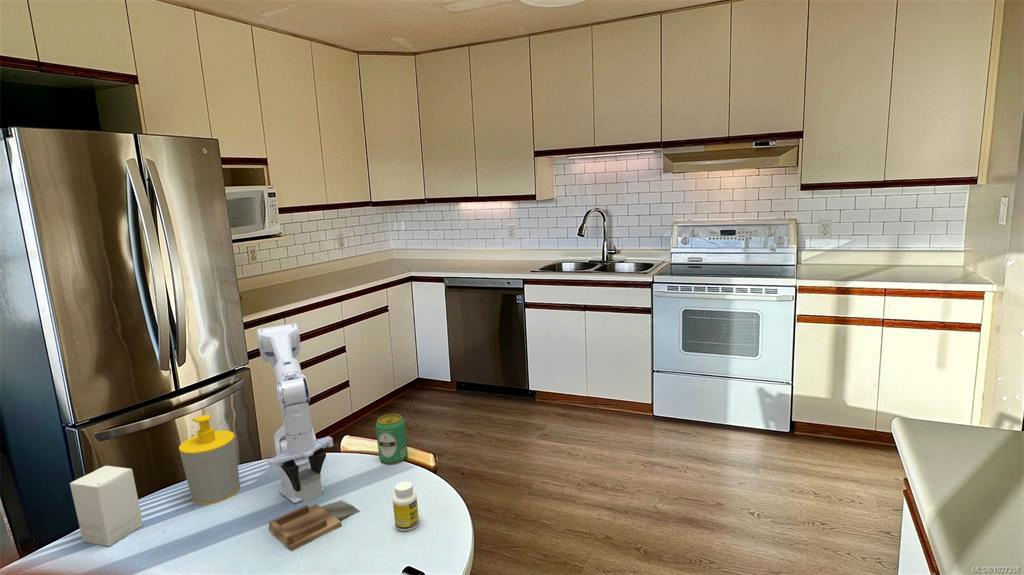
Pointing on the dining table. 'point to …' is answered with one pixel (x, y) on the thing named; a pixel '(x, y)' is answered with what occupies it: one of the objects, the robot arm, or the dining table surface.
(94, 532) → the supplement box
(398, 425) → the beverage can
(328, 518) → the dock
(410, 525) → the supplement bottle
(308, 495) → the grey lidded box
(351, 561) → the dining table surface
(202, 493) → the soap bottle
